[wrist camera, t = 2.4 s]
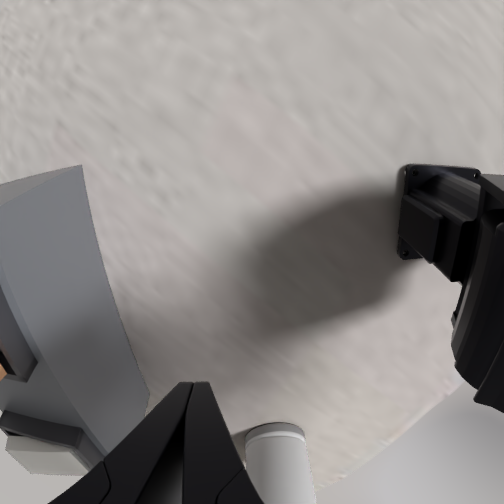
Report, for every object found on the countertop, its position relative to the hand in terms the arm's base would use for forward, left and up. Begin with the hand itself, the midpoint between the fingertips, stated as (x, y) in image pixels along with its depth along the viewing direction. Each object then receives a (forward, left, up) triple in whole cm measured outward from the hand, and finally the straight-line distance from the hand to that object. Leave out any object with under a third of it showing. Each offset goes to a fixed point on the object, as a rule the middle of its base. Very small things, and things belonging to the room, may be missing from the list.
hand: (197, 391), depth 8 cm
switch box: (+12, +5, -12) cm, 18 cm away
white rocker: (+12, +10, -1) cm, 16 cm away
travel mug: (-3, +23, -12) cm, 27 cm away
